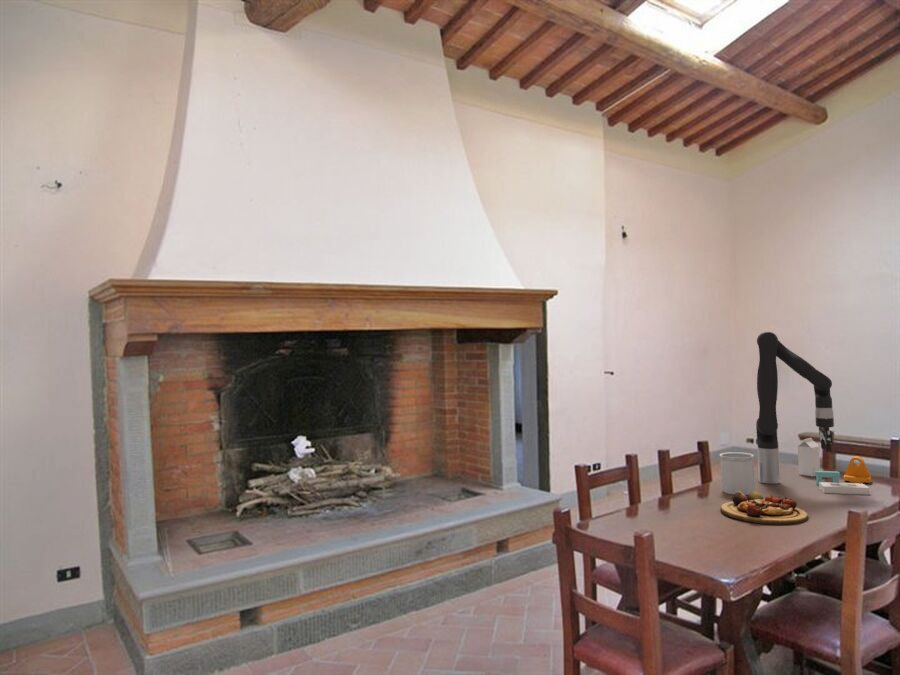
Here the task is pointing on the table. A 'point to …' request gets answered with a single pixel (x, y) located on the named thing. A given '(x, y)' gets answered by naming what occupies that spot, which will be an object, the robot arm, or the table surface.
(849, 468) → the bracket
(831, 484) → the white slotted board
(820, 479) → the teal block
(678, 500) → the table surface
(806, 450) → the milk carton
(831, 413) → the robot arm
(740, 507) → the wooden plate with food
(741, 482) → the utensil holder
